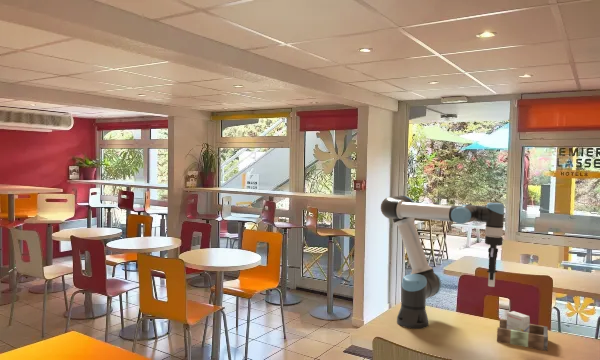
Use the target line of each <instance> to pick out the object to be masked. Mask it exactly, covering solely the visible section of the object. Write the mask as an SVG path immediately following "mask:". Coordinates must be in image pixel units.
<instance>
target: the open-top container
mask: <svg viewBox="0 0 600 360" xmlns="http://www.w3.org/2000/svg"><path fill="white" fill-rule="evenodd" d="M496 330H497V331H496V342H497V343H505V344H509V345H514V346H520V347H523V348H530V349H534V350H535V349H536V350H539V351H545V350H546V351H545V352H548V345H549V343H548V342H549V333H548V330H549V327H548V326H545V325H540V324H534V323H530V330H529V333H528V332H522V331H517V330H511V329H507V319H503V318H499V327H497V328H496Z"/></svg>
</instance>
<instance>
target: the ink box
mask: <svg viewBox="0 0 600 360" xmlns="http://www.w3.org/2000/svg"><path fill="white" fill-rule="evenodd" d="M506 320H507V329H511V330H517V331H522V332H528V333H529V330H530V324H531V321H530V315H527V314H524V313H521V312H517V311H515V310H512V311H508V312H506Z"/></svg>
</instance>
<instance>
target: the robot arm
mask: <svg viewBox="0 0 600 360" xmlns="http://www.w3.org/2000/svg"><path fill="white" fill-rule="evenodd" d="M380 211H381V213H382V215H383V216H384V217H385V218H387V219H390V220H391V219H392V221H393V224H394V225H395V226H397V227H398V230H399V234H400V236H401V239H402V242H403V246H404V249H405V252H406V254H407V259H408V261H409V264H410V267H411V273H410V274H409V273H408V274H406V275H404V276H403V278H402V280H401V296H400V297H401V299H400V300H401V303H400V309H399V311H398V314H397V317H396V323H397V324H398V325H399V326H401V327H404V328H407V329H413V330H414V329H416V330H417V329H419V330H420V329H425V328H426V329H427V328H428V327H429V317H428V315H427V314H428V313H427V310H426V305H427V304H426V303H427V302H426V301H427V299H429V298H431V297H434V296H436V294H438V293H439V292H440V290H441V288H442V280H441V278H440V276H439V275H438V274H437V273H435V271H434V267H432V266H430V265H429V263H428V259H427V256H426V254H425V251H424V250H425V249H424V247H423V244H422V242H421V239H420V236H419V233H418V230H417V228H416V225H415V220H416V219H420V220H428V221H429V220H431V221H438V222H439V221H440V222H449V223H450V222H451V223H452V222H453V223H456V224H459V225H461V224H462V225H464V224H467V223H470V222H477V223H479V222H480V223H485V229H484V230H485V231H484V232H485V233H484V234H485V237H484V244H486V245H488V246H489V247H488V250H487V252H488V270H486V271H487V273H488V280H487V286H488V287H490V288H495V284H496V273H497V272H498V271H497V258H498V252H499V248H497V246H502V245H503V240H504V238H503V236H504V235H503V234H504V232H505V229H504V222H505V221H504V219H505V206H504V204H503V203H501V202H487V203H486V206H484V205H474V204H462V205H461V206H460V205H447V204H435V203H434V204H433V203H421V202H415V201H414V200H413V199H412V198H411V197H409V196H407V195H396V196H395V195H394V196H388V197H387V196H386V197H385V199H384V200H382V202H381V204H380Z"/></svg>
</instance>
